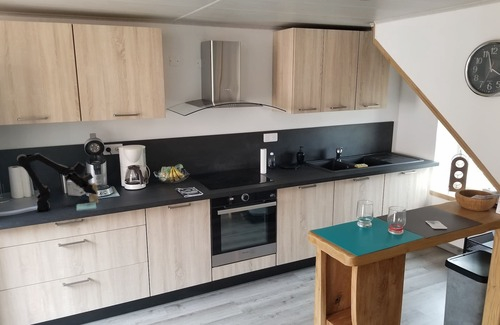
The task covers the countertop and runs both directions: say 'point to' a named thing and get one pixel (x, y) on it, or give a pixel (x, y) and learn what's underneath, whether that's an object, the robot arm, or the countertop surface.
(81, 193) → the light bulb box
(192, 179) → the countertop surface
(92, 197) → the beech block
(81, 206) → the teal pad
